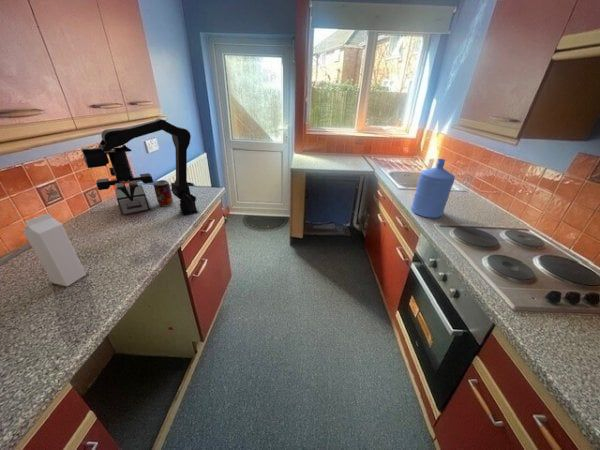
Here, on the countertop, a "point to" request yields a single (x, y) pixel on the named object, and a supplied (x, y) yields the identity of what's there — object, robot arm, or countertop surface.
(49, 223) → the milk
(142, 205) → the drawer
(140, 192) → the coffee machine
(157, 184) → the red food can
